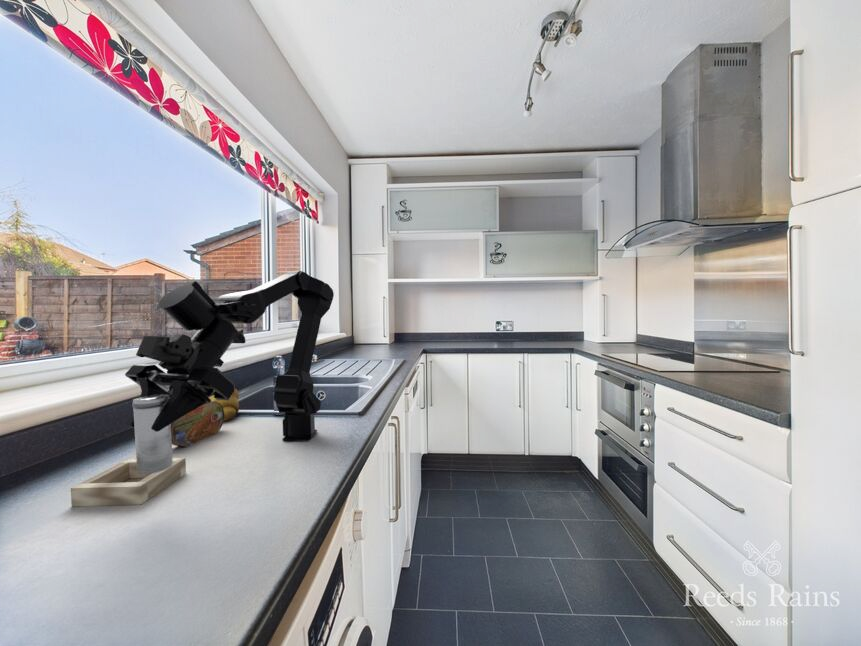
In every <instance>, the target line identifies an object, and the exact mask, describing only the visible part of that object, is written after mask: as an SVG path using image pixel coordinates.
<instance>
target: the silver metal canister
mask: <svg viewBox="0 0 861 646" xmlns="http://www.w3.org/2000/svg"><path fill="white" fill-rule="evenodd" d="M169 399H170V397H169V395H167V394H158V395H149V396H143V397H140V396H139V397H136V398H134V399H132V403H131V405H132V406H131V407H132V409H133V410H132V411H133V415H134V427H135V428H134V439H135V440H134V441H135V444H134V445H135V457H136V458H135V459H136V461H137V473H138V474H151V473H156V472H160V471H163V470H165V469H167V468H169V467H171V466H172V465H173V459H172V458H173V445H172V440H171V424H170V425H168V426H166V427H165V428H163V429H162V430H160V431H158V432H156V431H154V430H152V429H151V427H152V425H153V424H154V422H155V420H156V418H157V417H158V415H159V414H160V412H161V411H162V409H163V408H164V406H165V405H166V403H167V402H168V400H169Z"/></svg>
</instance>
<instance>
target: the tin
mask: <svg viewBox="0 0 861 646" xmlns="http://www.w3.org/2000/svg"><path fill="white" fill-rule="evenodd" d="M223 425H224V409H223V407H222V406H221V404H220V403H218V402H215V401H211V402H210V403H205V404H204V405H202V406H200V407H198V408H196V409H195V410H193V411H191V412H189V413H188V414H186V415H184V416H183V417H181V418H179V419H178V420H176V421H174V422H173V423H171V440H172V446H176V447H189V446H191V444H192V445H194V444H196V443H198V442H200V441H202V440H204V439H207V438H210V437H211V436H214V435H216V434H217V433H218V432H219V431H220V430H221V428H222V427H223Z"/></svg>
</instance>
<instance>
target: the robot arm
mask: <svg viewBox="0 0 861 646" xmlns="http://www.w3.org/2000/svg"><path fill="white" fill-rule="evenodd" d="M290 294H291V295H292V296H294V298H296V299H297V306H298V309H299V312H300V318H299V321H298V323H299V324H298V327H297V330H296V331H297V332H296V336H295V340H294V344H293V349H292V353H291V356H290V361H289V364H288V367H287V368H288V369H287V370H286V372H284V373H283V374H277V376H276V379H275V384H274V387H273V388H274V389H273V388H272V389H273V390H272V392H274V394H273V402H274V401H275V402H276V405H277V408H278V411H279V413H285V414H284V415H283V417H284V418H283V419H282V436H283V438H282V442H295V441H296V442H297V441H299V442H301V441H302V442H304V441H311V440H312V438H313V437H314V436H315V435H316V434H317V432H318V430H317V429H316V426H315V425H316V424H315V423H316V422H315V419H316V418H315V414H317V413H318V412H319V411H320V410H321V404H322V401H321V400H320V399H319V398H318V397H317V396H316V395H315V393H314V382H313V379H312V375H311V369H312V363H313V359H314V354H315V349H316V344H317V339H318V335H319V332H320V331H319V329H320V327H321V326H320V325H321V321H322V319H323V317H324V316H325V315H326V314H327V312H329V310H330V309H331V306H332V303H333V299H334V296H335V295H334V294H335V293H334V290H333V288H332V287H331V286H330V284H328V283H326V282H324V281H323V280H320V279H318V278H315V277H313V276H311V275H309V274H308V273H307V272H305V271H303V270H302V271H301V270H297V271H296V270H295V271H293V270H292V271H286V272H285V273H283V274H282V275H280V276H278V277H275V278H273V279H271V280H269V281H267V282H265V283H263V284H261V285H259V286H256V287H254V288H252V289H249V290H244V291H243V290H242V291H236V292H231V293H227V294H222V295H220V296H218V297H216V299H215V301H214V300H213V299H212V298H211V297H210V296H209V294H207V292H205V290H204V288H203V287H202V286H201V285H200V283H199V282H197V280H195V281H194V280H192V281H186V282H185V283H184V284H183V285H181V286H179V287H176V288H174V289H172V290H171V291H169V292H167V293H165V294H164V295H163V296H162V297H161V298H160V299H159V301H158V307H159V308H160V309H161V310H163V311H164V313H166V314H167V316H170V318H171V319H172V320H174V321H175V322H176V323H177V324H178V325H179V326H180V327H182V329H184V330H185V331H196V333H195V334H194V335H193V336H192V337H191V336H189V335H186V334H182V333H180V334H179V333H176V334H174V335H172V337H171V338H170V337H169V336H160V335H144V336H143V337H142V340H141V342H140V344H139V347H138V349H137V352H136V353H135V356H137V357H139V358H147V359H151V360H155V361H158V362H159V363H158V366H159V367H158V366H157V365H156V364H152V363H151V364H149V363H148V364H147V363H138V364H133V365H132V366H131V367H130V368H128V370H127V371H126V372H125V374H124V377H126V378H128V379H129V380H131V381H133V382H134V383H135V384H137V385H138V386H140V389H141V392H140V396H139V397H143V396H149V395H158V394H167V395H169V397H170V399H169V400H168V402H167V403H166V405H165V406H164V408H163V409H162V411H161V412H160V414H159V415H158V417H157V418H156V420H155V422H154V424H153V425H152V427H151V429H152V430H154V431H156V432H158V431H160V430H162V429H163V428H165V427H166V426H168V425H170V424H171V423H173V422H174V421H176V420H178V419H179V418H181V417H183V416H184V415H186V414H188V413H189V412H191V411H193V410H195V409H196V408H198V407H200V406H202V405H204V404H205V403H210V402H211V399H209V397H211V396H212V393H213V395H214V398H215V399H217V400H227V401H229V399H230V397H231V396H232V394H233V393H234V391H235V389H236V388H235V382H234V381H233V380H231V379H230V378H229V377H228V376H227V375H226V374H225V373H223V372H222V371H221V370H220V369H219V368H220V367H222V366H223V365H224V363H225V362H224V361H223V360H222V359H221V358H222V357H223V356H224V355H225V353H226V352H227V350H228V349H229V348H230V346H231V345H232V344H246V342H247V341H246V337H245V334H244V330H243V329H238V328H237V327H236V326H235V325H234V324H237V325H238V324H244V325H245V324H248V325H249V324H252V323H254V322H256V321H257V320H258V319H259V318H261V317H262V316H263V315H265V313H266V310H267V307H269V306H270V305H272V304H274V303H276V302H278V301H279V300H281V299H283V298H285V297H287V296H289V295H290ZM160 367H161V368H162V369H164V370H166V372H165V371H164V370H162V369H161V368H160ZM217 367H218V368H217ZM171 391H172V392H171ZM170 392H171V393H172V394H171V393H170ZM129 426H130V427H131V428H133V429H135V427H134V414H133V415H132V418H131V421H130V423H129Z"/></svg>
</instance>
